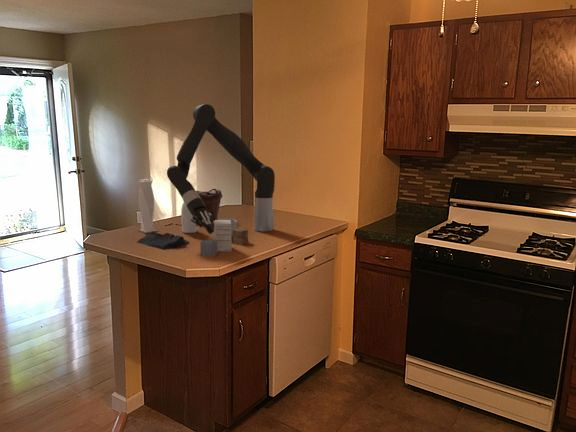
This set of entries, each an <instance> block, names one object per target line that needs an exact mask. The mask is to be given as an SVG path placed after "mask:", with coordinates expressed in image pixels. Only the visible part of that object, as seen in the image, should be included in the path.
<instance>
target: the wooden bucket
mask: <svg viewBox="0 0 576 432" xmlns="http://www.w3.org/2000/svg"><path fill="white" fill-rule="evenodd" d="M195 191H196V192H197V193H198V194H199V196H200V198H201V199H202V201H203V203H204V204H205V208H206V210H208V212H209V213H211V214H212V213H214V221H215V220H218V215H219V210H220V206H221V200H222V198H223V194H222V190H221V189H216V188H212V189H210V190H209V191H200V190H195Z"/></svg>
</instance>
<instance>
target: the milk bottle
mask: <svg viewBox="0 0 576 432" xmlns="http://www.w3.org/2000/svg"><path fill="white" fill-rule="evenodd" d="M180 215H181V216H180V217H181V221H180V222H181V232H182V233H185V234H193V233H197V231H198V225H197V224H195V223H194V222H192V221H191V219H192V217H193V216H192V214H191V213H190V211H189V210H188V208H187V206H186V205H185V203H184V202H183V203H182V205H181V213H180Z"/></svg>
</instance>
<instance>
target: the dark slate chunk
mask: <svg viewBox="0 0 576 432" xmlns="http://www.w3.org/2000/svg"><path fill="white" fill-rule="evenodd" d="M137 243H138V244H142V245H145V246H147V247H151V248H152V247H153V248H156V249H160V250H167V251H168V250H171V249H177V248H180V247H184V246H186V245H188V244H189V243H190V241H189V240H186V239H185V238H184V236H181V235H175V234H172V233H169V232H166V233H164V234H162V233H157V232H151V233H147V235H145V236H144V237H141V238H139V239H138V240H137Z"/></svg>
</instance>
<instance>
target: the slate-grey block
mask: <svg viewBox="0 0 576 432" xmlns="http://www.w3.org/2000/svg"><path fill="white" fill-rule="evenodd" d="M199 244H200V245H199V246H200V256H202V257H209V258H212V257H214V256H216V255H218V252H217V241H216V240H215V239H204V240H202V241H200V242H199Z"/></svg>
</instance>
